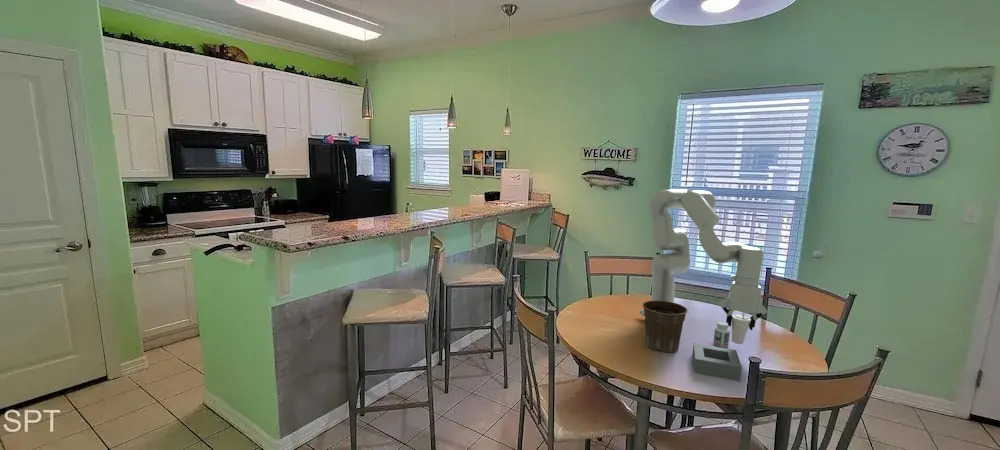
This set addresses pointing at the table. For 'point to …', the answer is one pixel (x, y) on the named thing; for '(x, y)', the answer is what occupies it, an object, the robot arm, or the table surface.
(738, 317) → the smoothie
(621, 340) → the table surface
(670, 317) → the plant pot
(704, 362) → the socket
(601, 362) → the table surface
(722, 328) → the pill bottle
